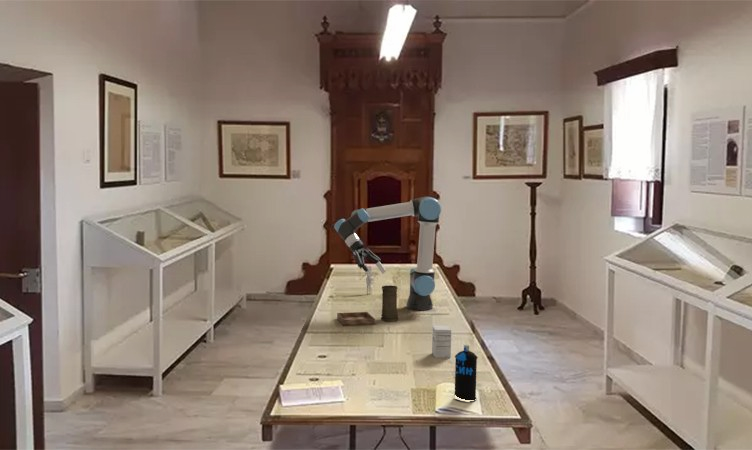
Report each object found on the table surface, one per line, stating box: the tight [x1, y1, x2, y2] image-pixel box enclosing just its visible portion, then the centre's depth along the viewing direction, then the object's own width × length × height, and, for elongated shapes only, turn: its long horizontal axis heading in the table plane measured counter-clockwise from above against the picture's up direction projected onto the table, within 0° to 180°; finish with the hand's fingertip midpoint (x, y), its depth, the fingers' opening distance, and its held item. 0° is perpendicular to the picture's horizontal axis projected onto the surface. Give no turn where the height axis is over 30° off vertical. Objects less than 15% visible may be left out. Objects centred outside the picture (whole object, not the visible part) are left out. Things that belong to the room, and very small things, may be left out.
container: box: [380, 285, 399, 323], centre depth 385 cm, size 9×9×18 cm
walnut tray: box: [336, 311, 376, 327], centre depth 382 cm, size 17×17×3 cm
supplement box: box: [431, 325, 452, 359], centre depth 320 cm, size 7×7×13 cm
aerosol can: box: [454, 344, 479, 401], centre depth 265 cm, size 8×8×20 cm
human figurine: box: [359, 265, 379, 295], centre depth 452 cm, size 12×4×18 cm, turn 97°
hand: (378, 273), depth 387 cm, fingers open, 13 cm apart
